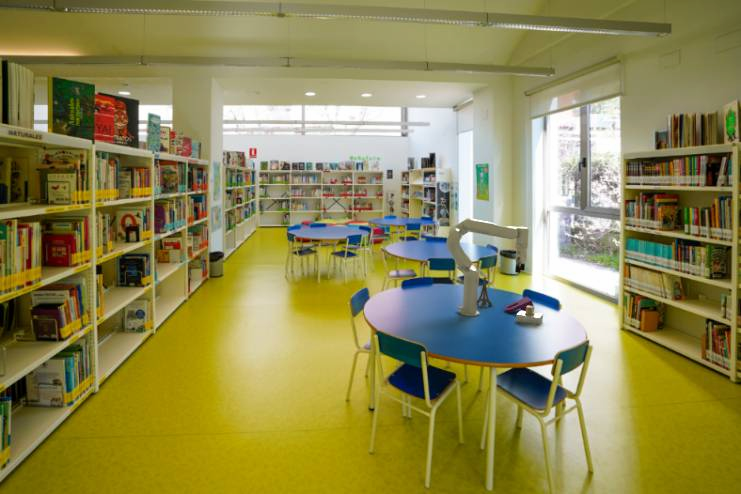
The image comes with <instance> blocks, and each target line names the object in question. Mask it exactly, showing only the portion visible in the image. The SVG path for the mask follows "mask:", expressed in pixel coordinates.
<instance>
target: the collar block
mask: <svg viewBox="0 0 741 494" xmlns="http://www.w3.org/2000/svg"><path fill="white" fill-rule="evenodd" d="M515 318H516V319H515V321H516V322H517V323H522V324H527V325H532V326H540V325H541V324H543V318H544V314H543V313H539V312H534V316H530V315H526V311H522V310H519V311H518V312H517V313H516V317H515ZM516 322H515V323H516Z"/></svg>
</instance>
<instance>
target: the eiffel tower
mask: <svg viewBox="0 0 741 494" xmlns="http://www.w3.org/2000/svg"><path fill="white" fill-rule="evenodd" d="M482 279H483V282H482V287H481V288H482V289H481V291H480V296H478V298H477V306H479V305H480V306H479V308H480V309H485V308H486V305H488V306H489V307H490V308H493V307H494V308H495V306H494V304H493V303H492V302H491V300H490V298H489V295H488V294H489V292H488V289H487V280H488V278H487V277H486V276H483V277H482ZM480 302H481V304H480Z"/></svg>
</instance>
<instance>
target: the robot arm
mask: <svg viewBox="0 0 741 494" xmlns="http://www.w3.org/2000/svg"><path fill="white" fill-rule="evenodd" d="M468 233H475V234H481V235H485V236H491V237H497V238H500V239H507V240H514V239H515V247H514V248H515V250H516V252H515V270H514V273H517V274H520V273H521V271H522V272H523V271H525V268H526V267H525V266H526V263H527V261H528V260H527V259H528V258H527V253H528V251H527V249H528V246H529V244H528V243H529V227H525V226H510V225H508V226H504V225H499V224H496V223H494V222H490V221H484V220H479V219H474V218H472V217H471V218H470V217H468V218H465V219H464V220H462V221H461V222H459V223H458V224H455V225H454V226H453V227H451V228H450V229H449V231H448V236H447V238H446V248H447V250H448V252H449V253H450V255H451V257H452V258H453V261H454V262H455V264H456V266H457V267H458V269H459V270H460V271H461V273H462V275H463V287H462V289H463V291H462V295H463V296H462V305H457V306H456V308H457V310H459V313H460V314H461V315H463V316H467V317H477V316H479V314H480V311H478V305H477V300H478V298H479V296H478V295H479V294H478V293H479V280H480V274H479V271H478V269H477V268H476V266H475V265H474V263H473V261H472V260H471V259H470V256H469V255H468V254H467V253H466V252H465V250H464V249H463V247H462V246H461V243H460V241H461V239H462V237H463V236H465V235H466V234H468Z"/></svg>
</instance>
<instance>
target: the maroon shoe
mask: <svg viewBox="0 0 741 494" xmlns="http://www.w3.org/2000/svg"><path fill="white" fill-rule="evenodd" d="M527 306H534V303H533V300H531V299H530V298H529V297H528V296H525V297H523V298H521V299H519V300H516V301H514V302H511V303H510V304H507V305H506V306H504V311H505V312H506V313H513V312H515V311H517V310H520V311H526V307H527ZM534 307H535V306H534Z"/></svg>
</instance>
